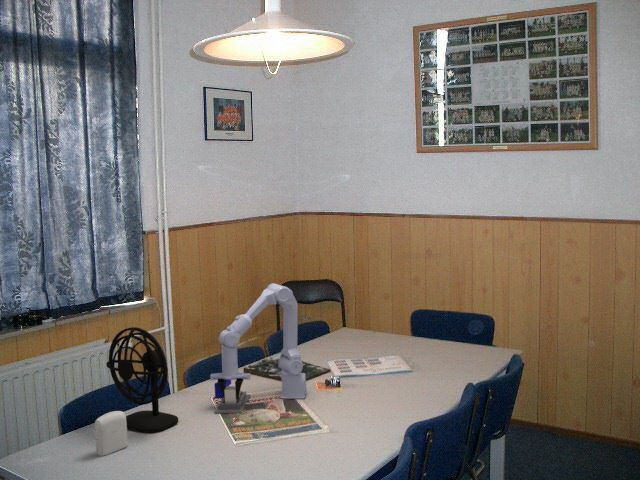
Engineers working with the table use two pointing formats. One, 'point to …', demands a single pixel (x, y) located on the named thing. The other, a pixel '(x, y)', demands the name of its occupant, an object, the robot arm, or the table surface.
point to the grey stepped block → (233, 404)
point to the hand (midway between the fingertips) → (231, 398)
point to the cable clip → (218, 391)
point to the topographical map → (273, 371)
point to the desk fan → (151, 363)
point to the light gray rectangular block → (230, 394)
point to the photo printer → (111, 432)
